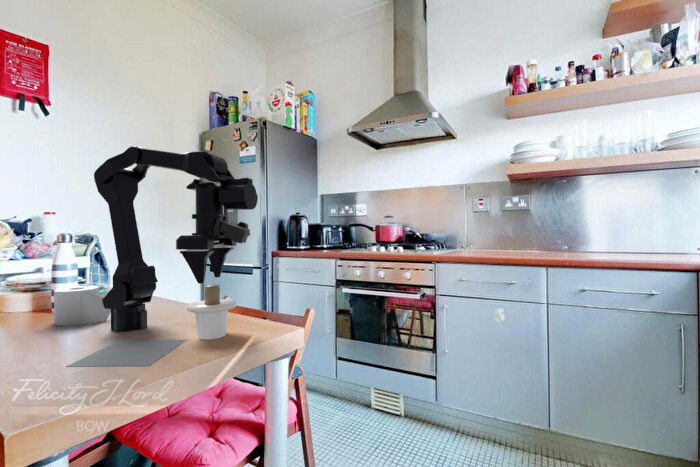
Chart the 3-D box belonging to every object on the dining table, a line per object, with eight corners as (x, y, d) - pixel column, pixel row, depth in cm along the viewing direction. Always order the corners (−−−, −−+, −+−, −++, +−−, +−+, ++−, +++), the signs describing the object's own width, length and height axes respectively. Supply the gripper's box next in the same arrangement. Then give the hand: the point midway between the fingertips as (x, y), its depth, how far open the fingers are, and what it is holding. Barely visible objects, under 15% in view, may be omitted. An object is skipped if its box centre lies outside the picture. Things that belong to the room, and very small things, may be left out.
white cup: (233, 334, 78) (233, 304, 78) (219, 344, 71) (219, 311, 71) (205, 333, 79) (205, 303, 79) (188, 343, 72) (188, 310, 72)
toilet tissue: (113, 320, 90) (113, 288, 90) (48, 327, 84) (48, 292, 84) (118, 313, 98) (118, 283, 98) (59, 319, 92) (59, 287, 92)
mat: (66, 371, 58) (66, 366, 57) (120, 343, 72) (120, 340, 72) (149, 370, 58) (149, 365, 58) (187, 343, 72) (187, 339, 72)
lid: (178, 312, 70) (178, 289, 70) (198, 302, 80) (198, 282, 80) (227, 312, 70) (227, 289, 70) (241, 302, 80) (241, 282, 80)
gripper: (232, 207, 66) (231, 287, 66) (257, 212, 85) (256, 274, 85) (174, 207, 66) (174, 287, 66) (212, 212, 85) (212, 274, 85)
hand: (209, 280), depth 76 cm, fingers open, 9 cm apart
